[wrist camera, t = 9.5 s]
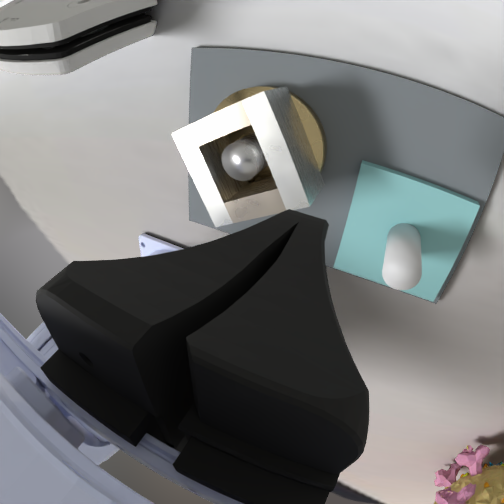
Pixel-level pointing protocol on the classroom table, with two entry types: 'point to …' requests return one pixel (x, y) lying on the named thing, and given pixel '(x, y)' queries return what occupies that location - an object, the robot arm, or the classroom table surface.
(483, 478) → the educational model
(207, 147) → the hollow square metal tube
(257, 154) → the hub
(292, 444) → the robot arm
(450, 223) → the stand
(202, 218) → the board
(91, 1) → the hinge
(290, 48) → the classroom table surface
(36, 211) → the classroom table surface
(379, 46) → the classroom table surface
